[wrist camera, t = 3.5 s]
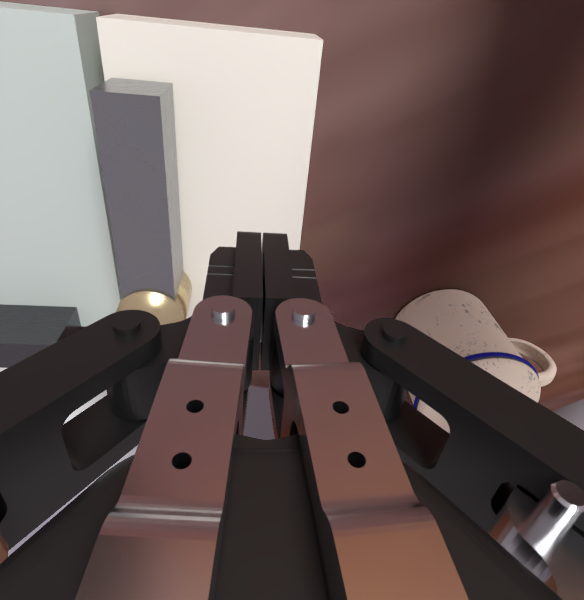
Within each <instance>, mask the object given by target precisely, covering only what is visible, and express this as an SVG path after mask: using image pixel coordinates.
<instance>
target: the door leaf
mask: <svg viewBox="0 0 584 600" xmlns="http://www.w3.org/2000/svg"><path fill="white" fill-rule="evenodd" d="M96 17H99V12H97V11H87V10H77V9H68V8H58V7H48V6H39V5H29V4H19V3H10V2H0V304H4V305H33V306H61V307H77V310H78V315H79V319H80V323H81V326H89V325H91V324H92V323H94V322H96V321H98V320H100V319H102V318H104V317H106V316H108V315H110V314H112V313H115V312H116V310H117V308H118V305H119V303H120V301H121V299H122V294H121V287H120V281H119V275H118V268H117V262H116V256H115V249H114V243H113V237H112V230H111V224H110V218H109V211H108V205H107V199H106V192H105V186H104V180H103V173H102V167H101V161H100V154H99V148H98V142H97V136H96V129H95V123H94V117H93V110H92V104H91V98H90V91H89V90H91V89H93V88H94V87H96V86H98V85H99V84H101V83H103V82H105V80H104V73H103V65H102V58H101V51H100V44H99V36H98V29H97V22H96Z"/></svg>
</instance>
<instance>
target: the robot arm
mask: <svg viewBox="0 0 584 600" xmlns="http://www.w3.org/2000/svg"><path fill="white" fill-rule="evenodd" d="M260 346H261V370H270V381H269V401H270V409H271V416H272V423H273V431H274V438H275V439H273V440H261V439H256V438H251V437H247V436H243V435H244V427H245V418H246V410H247V401H248V388H249V386H250V384H251V380H252V370H258V368H259V353H260ZM105 390H107V394H108V395H107V396H105V397H104V398H102V399H101V400H99V401H98V402H96V403H95V404H93V405H92V406H90V407H89V408H87V409H86V410H85V411H83V412H81V413H80V414H79V415H77V416H76V417H74V418H73V419H71V420H70V421H68V422H67V423H65V424H64V422H65V420H66V419H67V417H68V416H69V415H70V414H71V413H72V412H73V411H75V410H76V409H78V408H79V407H81V406H82V405H84V404H85V403H87V402H88V401H90V400H91V399H93V398H94V397H96V396H97V395H98V394H100V393H102V392H103V391H105ZM408 391H409V392H410V393H411V394H413V395H414V396H416V397H417V398H418V399H420V400H421V401H423V402H424V403H425V404H427V405H428V406H430V407H431V408H432V409H434V410H435V411H436V412H438V413H439V414H440V415H442V416H443V417H444V419H445V420H446V421H447V423H448V425H449V428H450V434H449V433H448V432H447V431H445V430H444V429H442V428H441V427H440V426H438V425H437V424H436V423H434V422H433V421H432V420H430V419H429V418H428V417H426V416H425V415H423V414H422V413H421V412H419V411H418V410H417V409H415V408H414V407H413V406H411V405H410V404H409V403H407V402H406V401H405V398H406V395H407V392H408ZM63 424H64V425H63ZM137 445H138V447H137V450H136V453H135V455H133V456H131V457H129V458H127V459H125V460H123V461H122V462H120V463H118V464H117V465H115V466H114V467H112V468H111V469H110V470H108V471H107V472H106V473H104V472H105V471H106V470H107V469H109V468H110V467H111V466H112V465H113V464H115V463H116V462H117V461H118V460H120V459H121V458H122V457H123V456H124V455H126V454H127V453H128V452H129V451H130V450H132V449H133V448H134V447H135V446H137ZM102 473H104V474H103V475H102V476H101V477H99V476H100V475H101V474H102ZM98 477H99V478H98ZM96 478H98V479H97V480H96V481H95V482H94V483H93V484H91V485H90V486H89V487H88V488H87V489H86V490H84V491H83V492H82V493H81V494H80V495H79V496H78V497H77V498H75V499H74V500H73V501H72V502H71V503H70V504H68V505H67V506H66V507H65V508H64V509H63V510H62V511H60V512H59V513H58V514H57V515H56V516H55V517H53V518H52V519H51V520H50V521H49V522H48V523H47V524H46V525H44V526H43V527H42V528H41V529H40V530H39V531H37V532H36V533H35V534H34V535H33V536H32V537H30V538H29V539H28V540H27V541H26V542H25V543H24V544H22V545H21V546H20V547H19V548H18V549H17V550H16V551H15V552H13V553H12V554H11V555H10V556H9V557H8V551H9V550H10V549H11V548H12V547H13V546H15V545H16V544H17V543H18V542H20V541H21V540H22V539H23V538H24V537H26V536H27V535H28V534H29V533H30V532H32V531H33V530H34V529H35V528H37V527H38V526H39V525H40V524H41V523H43V522H44V521H45V520H46V519H48V518H49V517H50V516H51V515H52V514H54V513H55V512H56V511H57V510H59V509H60V508H61V507H62V506H63V505H65V504H66V503H67V502H68V501H70V500H71V499H72V498H73V497H74V496H75V495H77V494H78V493H79V492H80V491H82V490H83V489H84V488H85V487H87V486H88V485H89V484H90V483H91V482H93V481H94V480H95V479H96ZM0 600H584V431H583V430H582V429H580V428H578V427H577V426H575V425H573V424H572V423H570V422H569V421H567V420H565V419H564V418H562V417H560V416H559V415H557V414H555V413H554V412H552V411H551V410H549V409H547V408H546V407H544V406H542V405H541V404H539V403H537V402H536V401H534V400H532V399H531V398H529V397H528V396H526V395H524V394H523V393H521V392H519V391H518V390H516V389H514V388H513V387H511V386H510V385H508V384H506V383H505V382H503V381H501V380H500V379H498V378H496V377H495V376H493V375H491V374H490V373H488V372H487V371H485V370H483V369H482V368H480V367H478V366H477V365H475V364H473V363H472V362H470V361H469V360H467V359H465V358H464V357H462V356H460V355H459V354H457V353H455V352H454V351H452V350H450V349H449V348H447V347H446V346H444V345H442V344H441V343H439V342H437V341H436V340H434V339H432V338H431V337H429V336H428V335H426V334H424V333H423V332H421V331H419V330H418V329H416V328H414V327H413V326H411V325H409V324H407V323H405V322H403V321H400V320H396V319H390V318H381V319H376V320H373V321H371V322H370V323H368V324H367V325H366V327H365V330H364V331H362V330H358V329H354V328H350V327H346V326H344V325H341V324H339V323H337V322H335V321H334V320H333V317H332V314H331V312H330V310H329V309H328V308H327V307H326V306H325V305H323V304H322V301H321V297H320V292H319V288H318V283H317V279H316V274H315V271H314V265H313V260H312V258H311V257H310V256H309V255H308V254H307V253H306V252H305V251H304V250H289V244H288V237H287V234H283V233H263V239H262V244H261V232H242V231H237V241H236V247H220V246H219V247H218V248H217V249H216V250H215V251H214V252H213V253H212V254H210V259H209V266H208V271H207V277H206V283H205V288H204V294H203V300H202V301H201V302H199V303H198V304H197V305H196V306H195V308H194V311H193V314H192V316H191V317H189V318H187V319H185V320H182V321H179V322H175V323H169V324H164V325H160V322H159V320H158V318H157V317H156V316H154V315H153V314H151V313H149V312H146V311H142V310H123V311H119V312H115V313H112V314H110V315H108V316H106V317H104V318H102V319H100V320H98V321H96V322H94V323H92V324H91V325H89V326H87V327H85V328H83V329H81V330H79V331H77V332H75V333H73V334H72V335H70V336H68V337H66V338H64V339H62V340H60V341H58V342H56V343H54V344H53V345H51V346H49V347H47V348H45V349H43V350H41V351H39V352H37V353H35V354H34V355H32V356H30V357H28V358H26V359H24V360H22V361H20V362H18V363H17V364H15V365H13V366H11V367H9V368H7V369H5V370H3V371H1V372H0Z"/></svg>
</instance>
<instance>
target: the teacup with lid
mask: <svg viewBox="0 0 584 600" xmlns="http://www.w3.org/2000/svg"><path fill="white" fill-rule="evenodd" d="M395 319H396V320H400V321H403V322H405V323H407V324H409V325H411V326H413V327H414V328H416V329H418V330H419V331H421V332H423V333H424V334H426V335H428V336H429V337H431V338H432V339H434V340H436V341H437V342H439V343H441V344H442V345H444V346H446V347H447V348H449V349H450V350H452V351H454V352H455V353H457V354H459V355H460V356H462V357H464V358H465V359H467V360H469V361H470V362H472V363H473V364H475V365H477V366H478V367H480V368H482V369H483V370H485V371H487V372H488V373H490V374H491V375H493V376H495V377H496V378H498V379H500V380H501V381H503V382H505V383H506V384H508V385H510V386H511V387H513V388H514V389H516V390H518V391H519V392H521V393H523V394H524V395H526V396H528V397H529V398H531V399H532V400H534V401H536V402H537V403H538V401H539V398H540V391H541V387H542V386H545V385H547V384H549V383H550V382H551V381H552V380H553V379H554V377H555V374H556V371H557V368H556V364H555V363H554V361H553V359H552V358H551V357H550V356H549V355H548V354H547V353H546V352H544V351H543V350H542V349H540V348H539V347H537V346H535V345H533V344H531V343H529V342H527V341H524V340H520V339H515V338H508V337H507V336H506V334H505V333H504V332H503V330H502V329H501V327H500V326H499V325H498V323H497V322H496V321H495V319H494V318H493V316H492V315H491V314H490V312H489V311H488V310H487V308H486V307H485V305H484V304H483V303H482V302H481V301H480V300H479V299H478V298H477V297H476V296H474V295H472V294H470V293H468V292H465V291H462V290H456V289H444V290H437V291H433V292H430V293H427V294H424V295H422V296H420V297H418V298H416V299H415V300H413V301H412V302H410V303H409V304H408V305H406V306H405V307H404V308H403V309H402V310H401V311H400V313H399V314H398V315H397V317H396V318H395ZM520 354H522V355H524V356H526V357H528V358H530V359H531V360H533V361H534V362H535V363H537V364H538V365H539V366H540V367H541V369H542V370H543V372H539V373H537V371H536V370H535V368H534V367H533V366H532V365H531V364H530V363H529V362H528V361H527V360H525V359H523V358H522V356H521V355H520ZM408 392H409V391H408ZM409 394H410V397H411V400H412V402H413V407H414V408H415V409H417V410H418V411H419V412H421V413H422V414H423V415H425V416H426V417H428V418H429V419H430V420H432V421H433V422H434V423H436V424H437V425H438V426H440V427H441V428H442V429H444V430H445V431H447V432H448V433H449V434H450V428H449V425H448V423H447V421H446V420H445V419H444V417H443V416H442V415H440V414H439V413H438V412H436V411H435V410H434V409H432V408H431V407H430V406H428V405H427V404H425V403H424V402H423V401H421V400H420V399H418V398H417V397H416V396H414V395H413V394H411V393H410V392H409Z"/></svg>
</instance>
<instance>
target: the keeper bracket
mask: <svg viewBox="0 0 584 600" xmlns="http://www.w3.org/2000/svg"><path fill="white" fill-rule="evenodd" d="M81 329H82V328H81V323H80V319H79V315H78V310H77V307H61V306H33V305H4V304H0V367H6V368H9V367H11V366H13V365H15V364H17V363H18V362H20V361H22V360H24V359H26V358H28V357H30V356H32V355H34V354H35V353H37V352H39V351H41V350H43V349H45V348H47V347H49V346H51V345H53V344H54V343H56V342H58V341H60V340H62V339H64V338H66V337H68V336H70V335H72V334H73V333H75V332H77V331H79V330H81Z"/></svg>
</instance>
